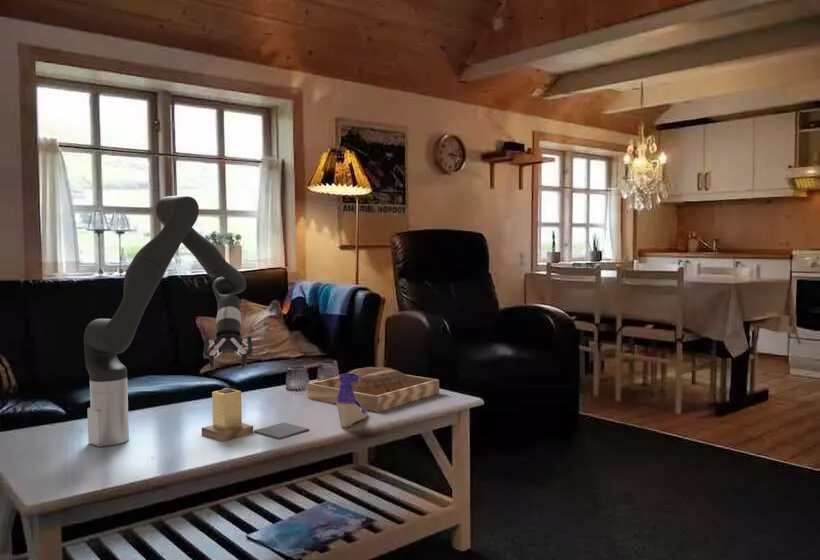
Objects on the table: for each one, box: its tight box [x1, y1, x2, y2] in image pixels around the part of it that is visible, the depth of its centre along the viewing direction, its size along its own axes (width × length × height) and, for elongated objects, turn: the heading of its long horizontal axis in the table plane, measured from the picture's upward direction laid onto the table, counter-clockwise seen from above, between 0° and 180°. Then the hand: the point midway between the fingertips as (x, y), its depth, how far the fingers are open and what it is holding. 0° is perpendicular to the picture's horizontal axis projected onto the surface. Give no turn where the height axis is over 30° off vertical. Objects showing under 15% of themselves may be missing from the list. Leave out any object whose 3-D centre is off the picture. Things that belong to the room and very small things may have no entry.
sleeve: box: [211, 388, 243, 431], centre depth 187 cm, size 6×6×10 cm
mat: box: [253, 422, 310, 440], centre depth 190 cm, size 11×11×1 cm
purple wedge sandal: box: [335, 372, 368, 429], centre depth 201 cm, size 8×20×15 cm, turn 165°
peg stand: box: [201, 387, 254, 442], centre depth 187 cm, size 10×10×13 cm
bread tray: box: [306, 373, 440, 413], centre depth 233 cm, size 33×32×5 cm
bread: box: [335, 366, 412, 396], centre depth 235 cm, size 26×27×10 cm
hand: (227, 367), depth 198 cm, fingers open, 8 cm apart
